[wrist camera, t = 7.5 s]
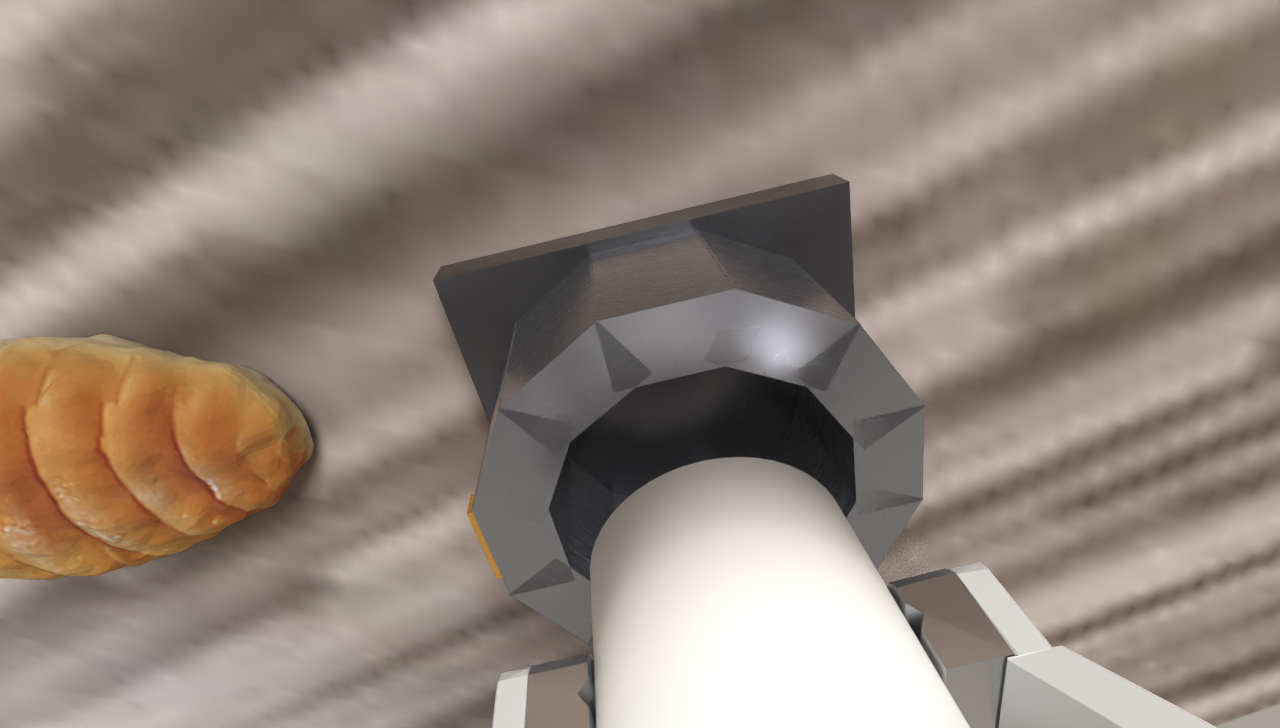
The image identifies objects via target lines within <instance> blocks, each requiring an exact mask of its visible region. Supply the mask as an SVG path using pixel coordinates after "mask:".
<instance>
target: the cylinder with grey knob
mask: <svg viewBox="0 0 1280 728" xmlns="http://www.w3.org/2000/svg"><path fill="white" fill-rule="evenodd" d="M590 581H591V606H592V631H593V656H594V681H595V706H596V728H970V727H969V725H968V723H967V722H966V720H965V718H964V716H963V715H962V713H961V711H960V710H959V708H958V706H957V705H956V703H955V701H954V700H953V698H952V696H951V694H950V693H949V691H948V689H947V688H946V686H945V684H944V683H943V681H942V679H941V678H940V676H939V674H938V673H937V671H936V669H935V667H934V666H933V664H932V662H931V661H930V659H929V657H928V656H927V654H926V652H925V651H924V649H923V647H922V645H921V644H920V642H919V640H918V639H917V637H916V635H915V634H914V632H913V630H912V629H911V627H910V625H909V623H908V622H907V620H906V618H905V617H904V615H903V613H902V612H901V610H900V608H899V607H898V605H897V603H896V602H895V600H894V598H893V596H892V595H891V593H890V591H889V590H888V588H887V586H886V585H885V583H884V581H883V580H882V578H881V576H880V574H879V573H878V571H877V569H876V568H875V566H874V564H873V563H872V561H871V559H870V558H869V556H868V554H867V552H866V551H865V549H864V547H863V546H862V544H861V542H860V541H859V539H858V537H857V536H856V534H855V532H854V530H853V529H852V527H851V525H850V524H849V522H848V520H847V519H846V517H845V515H844V514H843V512H842V510H841V509H840V507H839V505H838V503H837V502H836V500H835V499H834V497H833V496H832V495H831V494H830V492H829V491H828V490H827V489H826V488H825V487H824V486H823V485H822V484H821V483H819V482H818V481H817V480H816V479H814V478H813V477H811V476H810V475H808V474H806V473H805V472H803V471H801V470H799V469H796V468H794V467H792V466H790V465H787V464H783V463H780V462H777V461H773V460H767V459H761V458H751V457H729V458H717V459H711V460H705V461H700V462H697V463H693V464H689V465H686V466H683V467H680V468H677V469H675V470H672V471H670V472H667V473H665V474H663V475H661V476H659V477H657V478H656V479H654V480H652V481H650V482H648V483H647V484H645V485H644V486H642V487H641V488H639V489H638V490H636V491H635V492H634V493H633V494H631V495H630V496H629V497H628V498H627V499H626V500H624V501H623V502H622V503H621V504H620V505H619V506H618V507H617V509H616V510H615V511H614V512H613V513H612V514H611V515H610V517H609V518H608V520H607V521H606V523H605V524H604V526H603V527H602V529H601V531H600V533H599V535H598V537H597V539H596V541H595V544H594V548H593V551H592V555H591V562H590Z"/></svg>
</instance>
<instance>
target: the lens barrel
mask: <svg viewBox="0 0 1280 728" xmlns="http://www.w3.org/2000/svg"><path fill="white" fill-rule="evenodd" d="M433 282H434V284H435V287H436V289H437V292H438V294H439V297H440V299H441V302H442V304H443V307H444V309H445V312H446V314H447V317H448V319H449V322H450V324H451V327H452V329H453V332H454V334H455V337H456V339H457V342H458V344H459V347H460V349H461V352H462V354H463V357H464V359H465V362H466V364H467V367H468V369H469V372H470V374H471V377H472V380H473V382H474V385H475V387H476V390H477V392H478V395H479V397H480V400H481V402H482V405H483V407H484V410H485V412H486V415H487V417H488V420H489V422H490V428H489V432H488V437H487V441H486V446H485V451H484V455H483V460H482V464H481V469H480V474H479V478H478V483H477V487H476V492H475V494H474V495H471V498H470V503H469V507H468V511H467V515H468V517H469V519H470V521H471V524H472V526H473V528H474V530H475V532H476V534H477V537H478V539H479V541H480V543H481V545H482V547H483V550H484V552H485V554H486V556H487V558H488V560H489V563H490V565H491V567H492V569H493V571H494V573H495V576H496V578H497V579H498V578H503V580H504V583H505V585H506V587H507V589H508V591H509V595H510V596H513V597H514V598H516V599H517V600H519V601H520V602H522V603H524V604H525V605H527V606H528V607H530V608H532V609H533V610H535V611H536V612H538V613H540V614H541V615H543V616H544V617H546V618H547V619H549V620H551V621H552V622H554V623H555V624H557V625H559V626H560V627H562V628H563V629H565V630H567V631H568V632H570V633H571V634H573V635H574V636H576V637H578V638H579V639H581V640H582V641H584V642H586V643H587V644H588V645H593V631H592V606H591V581H590V562H591V555H592V551H593V548H594V544H595V541H596V539H597V537H598V535H599V533H600V531H601V529H602V527H603V526H604V524H605V523H606V521H607V520H608V518H609V517H610V515H611V514H612V513H613V512H614V511H615V510H616V509H617V507H618V506H619V505H620V504H621V503H622V502H623V501H624V500H626V499H627V498H628V497H629V496H630V495H631V494H633V493H634V492H635V491H636V490H638V489H639V488H641V487H642V486H644V485H645V484H647V483H648V482H650V481H652V480H654V479H656V478H657V477H659V476H661V475H663V474H665V473H667V472H670V471H672V470H675V469H677V468H680V467H683V466H686V465H689V464H693V463H697V462H700V461H705V460H711V459H717V458H729V457H751V458H761V459H767V460H773V461H777V462H780V463H783V464H787V465H790V466H792V467H794V468H796V469H799V470H801V471H803V472H805V473H806V474H808V475H810V476H811V477H813V478H814V479H816V480H817V481H818V482H819V483H821V484H822V485H823V486H824V487H825V488H826V489H827V490H828V491H829V492H830V494H831V495H832V496H833V497H834V499H835V500H836V502H837V503H838V505H839V507H840V509H841V510H842V512H843V514H844V515H845V517H846V519H847V520H848V522H849V524H850V525H851V527H852V529H853V530H854V532H855V534H856V536H857V537H858V539H859V541H860V542H861V544H862V546H863V547H864V549H865V551H866V552H867V554H868V556H869V558H870V559H871V561H872V563H873V564H874V566H875V568H876V569H877V568H878V567H879V565H880V564H881V562H882V560H883V559H884V557H885V556H886V554H887V553H888V551H889V550H890V548H891V547H892V545H893V544H894V542H895V541H896V539H897V538H898V536H899V535H900V533H901V532H902V530H903V529H904V527H905V525H906V524H907V522H908V521H909V519H910V518H911V516H912V515H913V513H914V512H915V510H916V509H917V507H918V506H919V504H920V503H921V501H923V452H924V407H925V406H924V404H923V403H922V402H921V401H920V400H919V398H918V397H917V396H916V395H915V393H914V392H913V391H912V389H911V388H910V387H909V386H908V384H907V383H906V382H905V381H904V379H903V378H902V377H901V376H900V374H899V373H898V372H897V371H896V369H895V368H894V367H893V365H892V364H891V363H890V362H889V360H888V359H887V358H886V357H885V355H884V354H883V353H882V352H881V350H880V349H879V348H878V347H877V345H876V344H875V343H874V341H873V340H872V339H871V338H870V336H869V335H868V334H867V333H866V331H865V330H864V329H863V328H862V326H861V324H860V323H859V322H858V321H857V320H856V319H855V307H854V283H853V259H852V235H851V212H850V188H849V181H846V180H844V179H842V178H840V177H838V176H836V175H834V174H831V175H826V176H822V177H818V178H814V179H809V180H805V181H801V182H797V183H793V184H788V185H784V186H780V187H776V188H771V189H767V190H763V191H759V192H755V193H750V194H746V195H742V196H738V197H733V198H729V199H725V200H721V201H717V202H712V203H708V204H704V205H700V206H695V207H691V208H687V209H683V210H679V211H674V212H670V213H666V214H662V215H658V216H653V217H649V218H645V219H641V220H636V221H632V222H628V223H624V224H620V225H615V226H611V227H607V228H603V229H598V230H594V231H590V232H586V233H582V234H577V235H573V236H569V237H565V238H560V239H556V240H552V241H548V242H544V243H539V244H535V245H531V246H527V247H522V248H518V249H514V250H510V251H506V252H501V253H497V254H493V255H489V256H484V257H480V258H476V259H472V260H468V261H463V262H459V263H455V264H451V265H446V266H442V267H441V268H440V270H439V271H438V273H437V275H436V276H435V278H434V280H433Z"/></svg>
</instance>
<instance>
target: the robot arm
mask: <svg viewBox="0 0 1280 728" xmlns="http://www.w3.org/2000/svg"><path fill="white" fill-rule="evenodd" d="M887 588H888V590H889V591H890V593H891V595H892V596H893V598H894V600H895V602H896V603H897V605H898V607H899V608H900V610H901V612H902V613H903V615H904V617H905V618H906V620H907V622H908V623H909V625H910V627H911V629H912V630H913V632H914V634H915V635H916V637H917V639H918V640H919V642H920V644H921V645H922V647H923V649H924V651H925V652H926V654H927V656H928V657H929V659H930V661H931V662H932V664H933V666H934V667H935V669H936V671H937V673H938V674H939V676H940V678H941V679H942V681H943V683H944V684H945V686H946V688H947V689H948V691H949V693H950V694H951V696H952V698H953V700H954V701H955V703H956V705H957V706H958V708H959V710H960V711H961V713H962V715H963V716H964V718H965V720H966V722H967V723H968V725H969V727H970V728H1217V727H1215V726H1213V725H1211V724H1210V723H1208V722H1206V721H1204V720H1202V719H1200V718H1198V717H1196V716H1194V715H1193V714H1191V713H1189V712H1187V711H1185V710H1183V709H1181V708H1179V707H1177V706H1176V705H1174V704H1172V703H1170V702H1168V701H1166V700H1164V699H1162V698H1160V697H1159V696H1157V695H1155V694H1153V693H1151V692H1149V691H1147V690H1145V689H1143V688H1142V687H1140V686H1138V685H1136V684H1134V683H1132V682H1130V681H1128V680H1126V679H1125V678H1123V677H1121V676H1119V675H1117V674H1115V673H1113V672H1111V671H1110V670H1108V669H1106V668H1104V667H1102V666H1100V665H1098V664H1096V663H1094V662H1093V661H1091V660H1089V659H1087V658H1085V657H1083V656H1081V655H1079V654H1077V653H1076V652H1074V651H1072V650H1070V649H1068V648H1066V647H1064V646H1062V645H1061V646H1055V647H1052V646H1051V645H1050V644H1049V643H1048V641H1047V640H1046V639H1045V638H1044V636H1043V635H1042V634H1041V633H1040V632H1039V630H1038V629H1037V628H1036V627H1035V625H1034V624H1033V623H1032V622H1031V620H1030V619H1029V618H1028V617H1027V616H1026V614H1025V613H1024V612H1023V611H1022V609H1021V608H1020V607H1019V606H1018V605H1017V603H1016V602H1015V601H1014V600H1013V598H1012V597H1011V596H1010V595H1009V594H1008V592H1007V591H1006V590H1005V589H1004V587H1003V586H1002V585H1001V584H1000V583H999V581H998V580H997V579H996V578H995V576H994V575H993V574H992V573H991V572H990V570H989V569H988V568H987V567H986V566H985V565H983V564H982V563H980V562H974V563H970V564H966V565H962V566H958V567H954V568H950V569H942V570H938V571H934V572H930V573H926V574H922V575H918V576H914V577H910V578H906V579H902V580H898V581H894V582H890V583H889V584H888V586H887ZM492 728H596V706H595V681H594V659H593V657H592V655H591V654H587V655H582V656H578V657H573V658H568V659H563V660H558V661H554V662H549V663H544V664H539V665H535V666H529V667H525V668H520V669H516V670H512V671H507V672H503V673H501V675H500V678H499V680H498V683H497V688H496V697H495V705H494V714H493V722H492Z"/></svg>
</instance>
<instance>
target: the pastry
mask: <svg viewBox="0 0 1280 728" xmlns="http://www.w3.org/2000/svg"><path fill="white" fill-rule="evenodd" d="M313 449H314V443H313V440H312V438H311V434H310V430H309V427H308V425H307V422H306V420H305V418H304V416H303V415H302V413H301V412H300V410H299V409H298V408H297V407H296V405H295V404H294V403H293V402H292V401H291V400H290V399H289V398H288V397H287V396H286V395H285V394H284V393H283V392H282V391H281V390H280V389H279V388H278V387H277V386H275V385H274V384H273V383H272V382H271V381H270V380H268V379H267V378H266V377H265V376H264V375H262V374H261V373H259V372H257V371H255V370H252V369H249V368H245V367H242V366H240V365H237V364H232V363H223V362H213V361H206V360H201V359H198V358H195V357H185V356H182V355H179V354H176V353H174V352H170V351H162V350H158V349H154V348H150V347H148V346H145V345H143V344H141V343H138V342H135V341H133V340H129V339H126V338H122V337H118V336H113V335H107V334H100V335H95V336H92V337H87V338H60V337H28V338H20V339H3V340H0V578H13V579H29V580H32V579H36V580H50V579H57V578H62V577H67V576H93V575H101V574H104V573H106V572H109V571H112V570H115V569H119V568H122V567H127V566H138V565H141V564H143V563H145V562H147V561H150V560H153V559H156V558H159V557H163V556H166V555H170V554H173V553H178V552H181V551H184V550H186V549H188V548H189V547H191V546H192V545H194V544H195V543H197V542H201V541H204V540H207V539H209V538H212V537H215V536H217V535H218V534H219V533H221V532H222V531H223V530H224V529H225V528H226V527H227V526H229V525H231V524H234V523H236V522H238V521H242V520H244V519H245V518H247V517H249V516H251V515H252V514H254V513H257V512H260V511H262V510H265V509H268V508H270V507H272V506H274V505H275V504H276V503H277V502H279V500H280V499H281V498H282V496H283V494H284V493H285V492H286V491H287V489H288V487H289V486H290V484H291V482H292V480H293V479H294V477H295V475H296V473H297V472H298V470H299V469H300V468H301V467H302V465H303V464H304V463H306V462H307V461H308V460H309V458H310V457H311V455H312V452H313Z"/></svg>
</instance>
